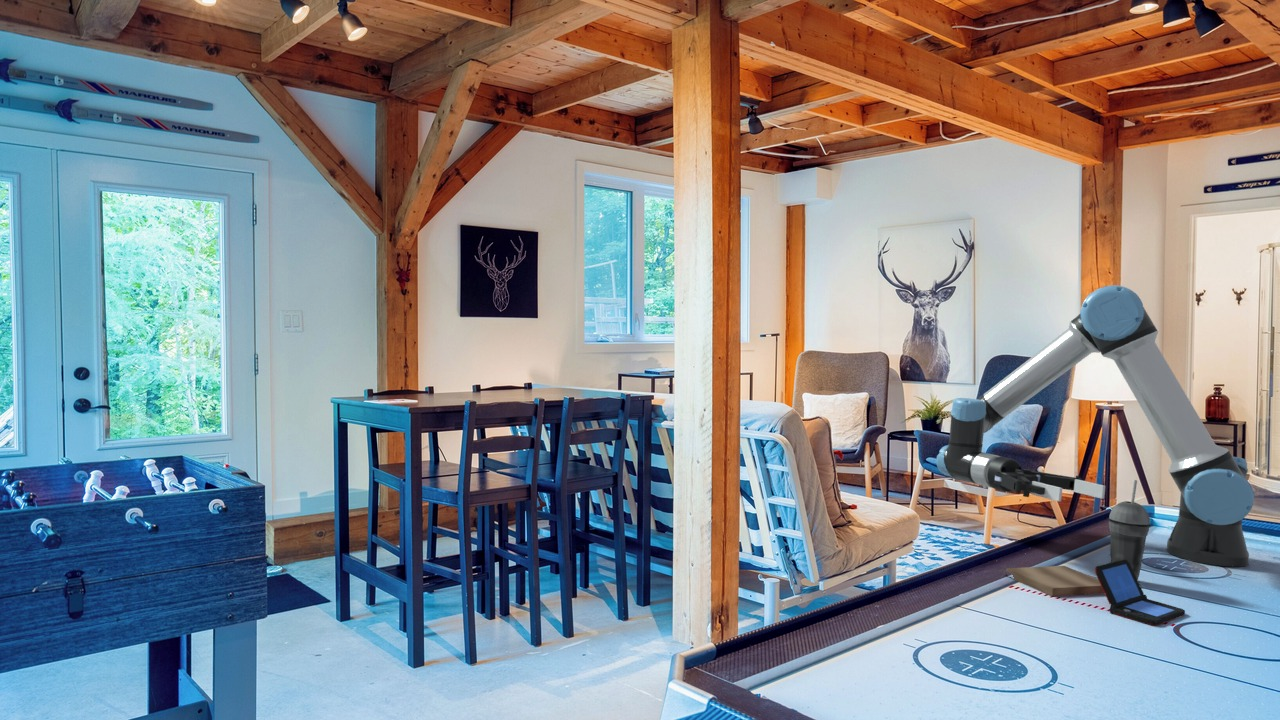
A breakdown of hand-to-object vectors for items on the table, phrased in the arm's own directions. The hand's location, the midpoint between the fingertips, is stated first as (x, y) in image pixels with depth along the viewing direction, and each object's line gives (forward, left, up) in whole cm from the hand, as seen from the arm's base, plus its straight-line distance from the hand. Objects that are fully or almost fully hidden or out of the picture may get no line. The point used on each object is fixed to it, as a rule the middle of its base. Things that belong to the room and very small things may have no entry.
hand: (1082, 493), depth 173 cm
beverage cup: (-2, +10, -15) cm, 18 cm away
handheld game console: (+11, +25, -16) cm, 31 cm away
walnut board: (+14, +10, -15) cm, 23 cm away
